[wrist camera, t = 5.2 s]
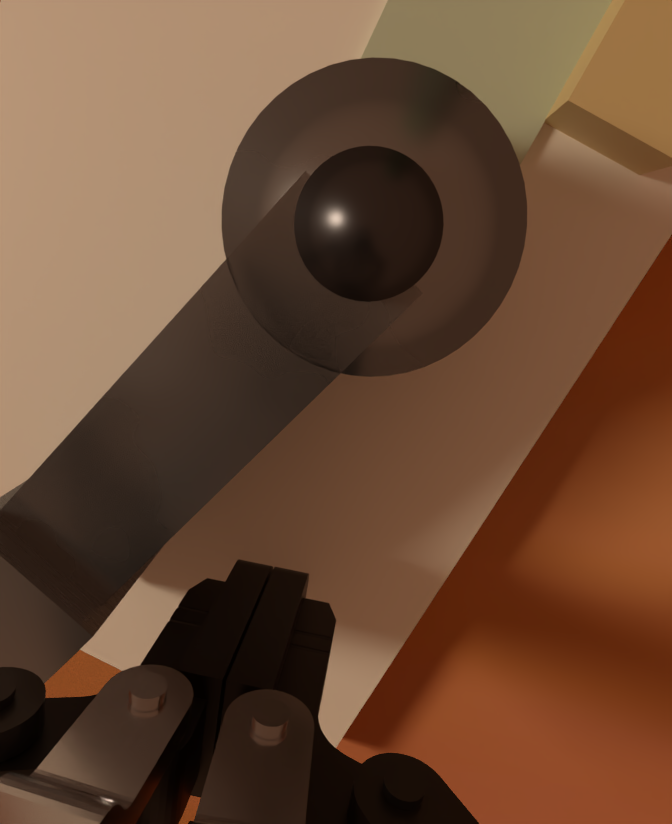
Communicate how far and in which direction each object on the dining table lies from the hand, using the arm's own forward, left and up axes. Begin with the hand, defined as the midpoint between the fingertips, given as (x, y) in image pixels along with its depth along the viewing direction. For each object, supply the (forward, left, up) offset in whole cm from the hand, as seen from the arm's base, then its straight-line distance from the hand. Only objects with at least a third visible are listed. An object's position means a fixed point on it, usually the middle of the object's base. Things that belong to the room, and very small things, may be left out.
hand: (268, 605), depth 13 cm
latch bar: (+2, +4, -1) cm, 5 cm away
